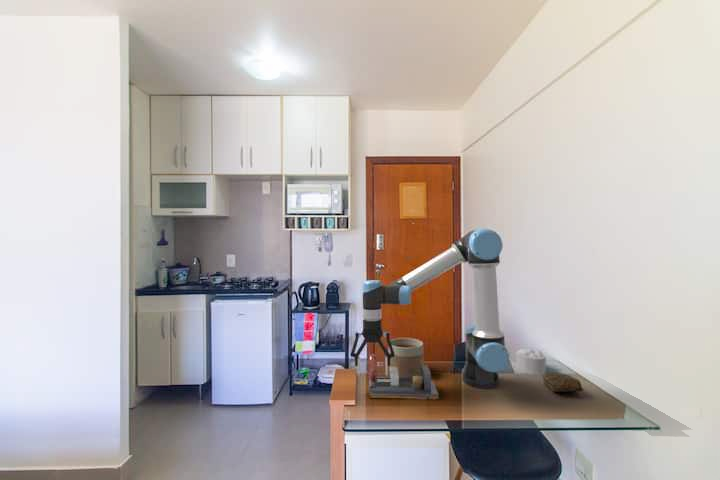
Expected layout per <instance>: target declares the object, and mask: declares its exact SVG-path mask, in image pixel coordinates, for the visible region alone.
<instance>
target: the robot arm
mask: <svg viewBox="0 0 720 480" xmlns="http://www.w3.org/2000/svg"><path fill="white" fill-rule="evenodd" d="M502 250H503V240H502V238H501V236H500V235H499V234H498V233H497V232H496V231H494V230H492V229H488V228H478V229H474V230H471V231H469V232H468V233H466V234H465V235H463V237H461V238H459V239H458V240H457V241H455V242H454V243H452V244H451V247H450V248H448V249H447V250H445V251H443V252H441V253H440V254H438V255H437V256H435V257H433V258H432V259H430V260H428V261H427V262H425V263H424V264H422V265H420V266H418V267H417V268H415V269H414V270H412V271H410V272H409V273H407V274H405V275H404V276H401V277H400V278H399V279H396V280H394V281H392V282H390V284H389V285H382V281H381V280H378V279H377V280H375V279H372V280H371V279H370V280H368V279H367V280H364V282H363V283H362V318H363V320H362V331H358V330H357V331H355V338H354V341H353V345H352V348H351V351H350V357H351V358H354V366H355V367H357V376H360V375H361V357H360V354H361V353H362V351H363V350H364V348H365V346H366V345H367V343H370V344H371V343H377V344H378V345H379V346H380V348H381V350H382V351H383V353H384V355H385V364H384V365H385V376H388V375H389V366H390V358H391V357H395V354H394V350H393V347H392V344H391V341H390V340H391V339H390V332H389V331H383V330H382V329H383V328H382V327H383V326H382V324H383V323H382V305H398V306H399V305H401V306H403V305H404V306H406V305H410V304H411V302H412V292H414V291H415V290H417V289H419V288H420V287H422V286H423V285H425V284H427V283H429V282H431V281H433V280H434V279H436V278H438V277H439V276H441V275H443V273H446V272H447V271H449V270H450V269H452V268H454V267H455V266H457V265H460V264H461V263H462V264H466V263H467V262H468V263H467V264H468V265H469V267H471V268H472V283H473V296H474V299H473V301H474V302H473V303H474V314H475V315H474V317H475V318H474V319H475V326H468V327H466V328H465V333H464V335H465V364H464V366H463V371H462V372H461V380H462V382H463V383H464V384H466V385H469V386H471V387H474V388H477V389H478V388H479V389H494V388H497V387H499V386H500V376H499V373H498V372H501V371H502V370H504V369H505V368H506V367H507V366H508V364H509V362H510V354H509V351H508V348H507V347H506V344H505V342H506V341H505V333H504V332H503V331H502V330H501V329H500V316H499V315H500V313H499V299H498V298H499V297H498V296H499V295H498V281H497V280H498V279H497V278H498V277H497V267H498V266H499V264H500V262H501V260H500V254H501V252H502ZM361 336H363V338H364V339H363V341H362V343H361V344H360V346H359V347H358V349H357V351H356V348H357V345H358V342H359V339H360V338H361ZM382 336H384V338H385V339H386V343H387V345H388V346H389V347H388V349H387V347H386V346H385V345H384V343H383V341H382ZM389 349H390V352H391V353H390V354H389ZM355 352H356V353H355Z"/></svg>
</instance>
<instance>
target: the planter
mask: <svg viewBox="0 0 720 480" xmlns="http://www.w3.org/2000/svg"><path fill="white" fill-rule="evenodd" d="M390 341H391V344H392V347H393V350H394V354H395V357H391V358H390V366H388V373H390V367H397V368H398V374H399V377H411V378H412V379H413V376H421V365H424V342H423V341H421V340H419V339H416V338H413V337H412V338H410V337H398V338H393V339H390ZM388 352H389V354H390V353H391V352H390V349H389V346H388Z"/></svg>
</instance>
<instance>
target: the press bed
mask: <svg viewBox="0 0 720 480" xmlns="http://www.w3.org/2000/svg"><path fill="white" fill-rule="evenodd" d="M421 377H423V388H421V389H416V388H414V387H413V378H411V377H399V387H369V395H375V396H400V397H417V398H429V397H432V398H433V397H436V398H439V399H440V397H439V395H440V394H439V392H438V390H437V388H436V385H435V382H434V380H433V379H432V373H431V371H430V368H429V366H428V365H427V364H423V365H421ZM377 379H390V376H377Z"/></svg>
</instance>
